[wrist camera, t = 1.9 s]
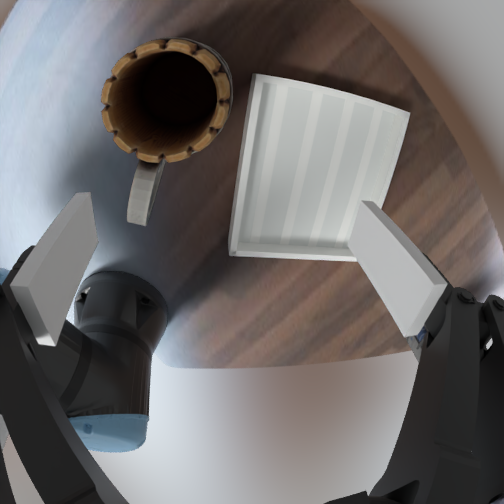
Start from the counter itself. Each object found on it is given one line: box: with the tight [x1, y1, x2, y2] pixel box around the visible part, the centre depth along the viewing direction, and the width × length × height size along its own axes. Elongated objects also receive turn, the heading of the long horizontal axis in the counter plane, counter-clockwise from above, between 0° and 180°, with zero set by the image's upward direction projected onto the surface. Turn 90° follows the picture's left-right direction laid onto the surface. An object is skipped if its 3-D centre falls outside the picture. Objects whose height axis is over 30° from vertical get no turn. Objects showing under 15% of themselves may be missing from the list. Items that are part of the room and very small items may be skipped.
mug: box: [101, 37, 233, 226], centre depth 23 cm, size 16×11×15 cm
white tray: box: [228, 73, 410, 262], centre depth 35 cm, size 19×22×3 cm
